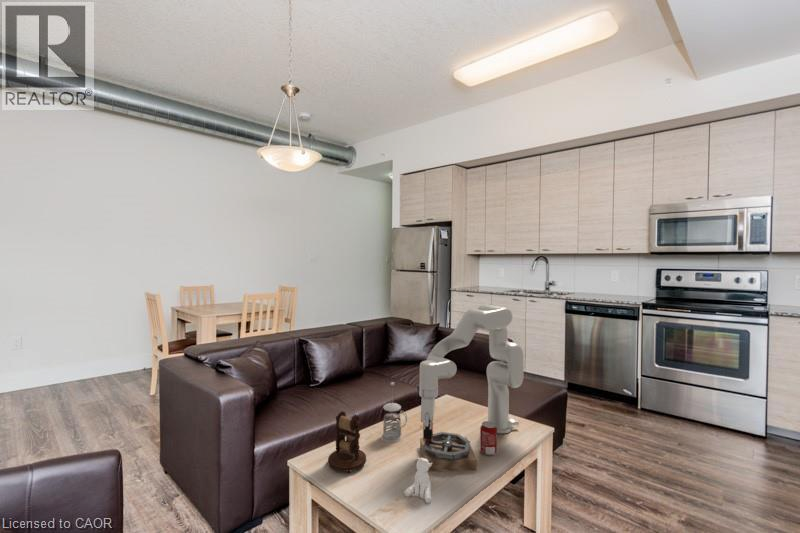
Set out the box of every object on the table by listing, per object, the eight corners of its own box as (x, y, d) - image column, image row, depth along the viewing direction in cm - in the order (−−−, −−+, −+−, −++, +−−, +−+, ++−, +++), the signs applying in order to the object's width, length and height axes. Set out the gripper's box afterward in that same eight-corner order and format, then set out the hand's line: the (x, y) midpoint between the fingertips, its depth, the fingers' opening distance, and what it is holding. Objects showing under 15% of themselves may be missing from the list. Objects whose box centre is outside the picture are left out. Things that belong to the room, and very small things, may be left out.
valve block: (466, 446, 163) (466, 436, 163) (477, 470, 145) (477, 459, 145) (420, 447, 162) (420, 437, 162) (425, 471, 144) (425, 460, 144)
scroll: (373, 460, 151) (373, 411, 151) (350, 479, 138) (350, 425, 138) (344, 450, 159) (344, 403, 158) (320, 467, 146) (320, 416, 145)
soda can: (496, 457, 154) (497, 428, 154) (479, 455, 156) (480, 426, 155) (496, 449, 161) (496, 421, 161) (479, 447, 162) (480, 419, 162)
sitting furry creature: (403, 496, 129) (403, 462, 129) (412, 482, 137) (413, 450, 136) (429, 504, 125) (430, 468, 125) (437, 489, 133) (438, 456, 133)
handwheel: (471, 440, 160) (471, 419, 159) (467, 462, 143) (467, 438, 142) (427, 434, 165) (427, 413, 164) (418, 455, 148) (418, 432, 147)
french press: (384, 431, 176) (384, 377, 176) (408, 433, 174) (409, 379, 173) (378, 441, 167) (379, 385, 166) (404, 444, 165) (405, 387, 164)
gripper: (421, 384, 164) (421, 425, 164) (416, 398, 147) (416, 445, 148) (439, 385, 162) (438, 427, 163) (436, 400, 146) (435, 447, 146)
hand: (428, 435), depth 155 cm, fingers closed on handwheel, 4 cm apart
